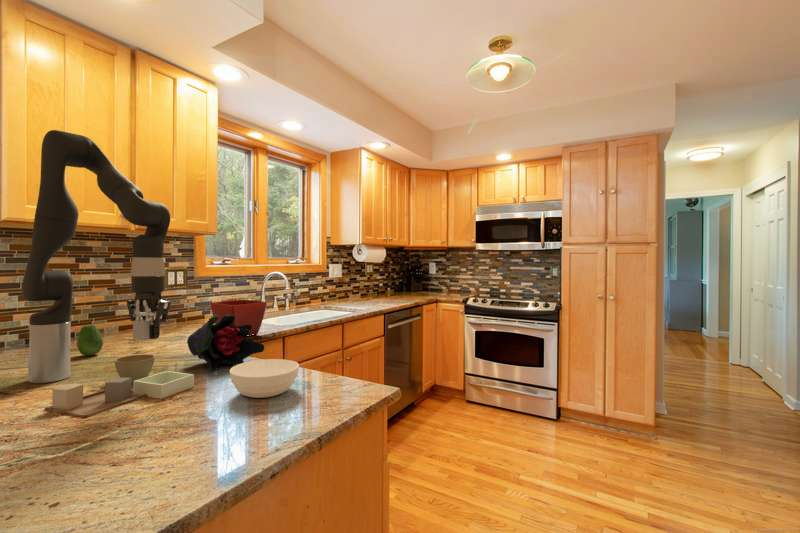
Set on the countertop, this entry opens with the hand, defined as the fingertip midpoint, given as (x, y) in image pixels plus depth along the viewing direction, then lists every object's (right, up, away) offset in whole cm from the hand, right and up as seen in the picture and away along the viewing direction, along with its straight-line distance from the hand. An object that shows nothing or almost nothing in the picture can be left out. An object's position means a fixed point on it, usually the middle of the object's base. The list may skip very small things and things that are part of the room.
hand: (148, 337), depth 101 cm
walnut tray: (-8, -16, -6) cm, 19 cm away
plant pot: (-12, -15, +85) cm, 87 cm away
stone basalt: (-5, -15, -4) cm, 17 cm away
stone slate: (0, 0, -1) cm, 1 cm away
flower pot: (-12, -16, +12) cm, 23 cm away
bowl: (+30, -16, +4) cm, 35 cm away
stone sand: (-13, -15, -10) cm, 22 cm away
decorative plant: (+7, -16, +30) cm, 35 cm away
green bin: (+2, -16, +3) cm, 16 cm away
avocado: (-51, -15, +43) cm, 68 cm away
